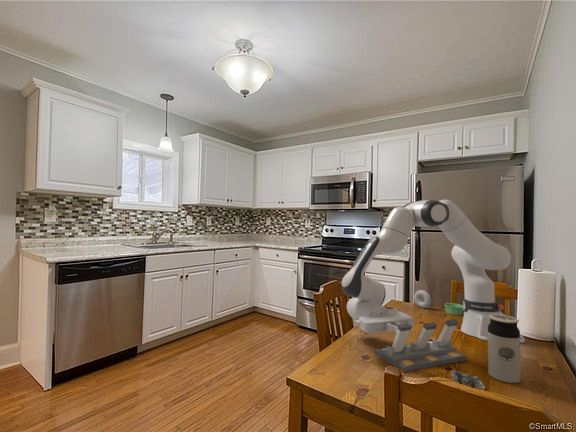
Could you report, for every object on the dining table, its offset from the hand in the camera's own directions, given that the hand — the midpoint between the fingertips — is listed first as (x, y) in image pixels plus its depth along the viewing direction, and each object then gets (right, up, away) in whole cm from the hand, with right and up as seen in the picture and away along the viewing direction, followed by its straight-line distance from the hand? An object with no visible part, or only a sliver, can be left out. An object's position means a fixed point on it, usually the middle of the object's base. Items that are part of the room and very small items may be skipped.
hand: (401, 330), depth 99 cm
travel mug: (+28, -11, -8) cm, 32 cm away
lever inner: (+18, -8, +9) cm, 22 cm away
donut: (+38, -14, +70) cm, 81 cm away
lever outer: (-1, -7, +2) cm, 8 cm away
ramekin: (+51, -14, +60) cm, 80 cm away
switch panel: (+9, -11, +5) cm, 15 cm away
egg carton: (+12, -11, -17) cm, 23 cm away
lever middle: (+9, -8, +5) cm, 13 cm away
